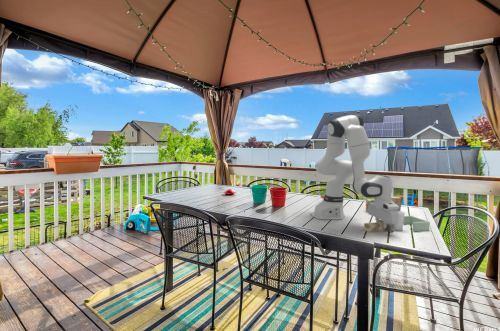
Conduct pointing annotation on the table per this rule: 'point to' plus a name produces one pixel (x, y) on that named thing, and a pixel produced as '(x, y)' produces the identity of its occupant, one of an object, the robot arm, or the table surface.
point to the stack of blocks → (394, 198)
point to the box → (417, 223)
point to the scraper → (378, 226)
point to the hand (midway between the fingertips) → (381, 226)
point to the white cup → (399, 222)
